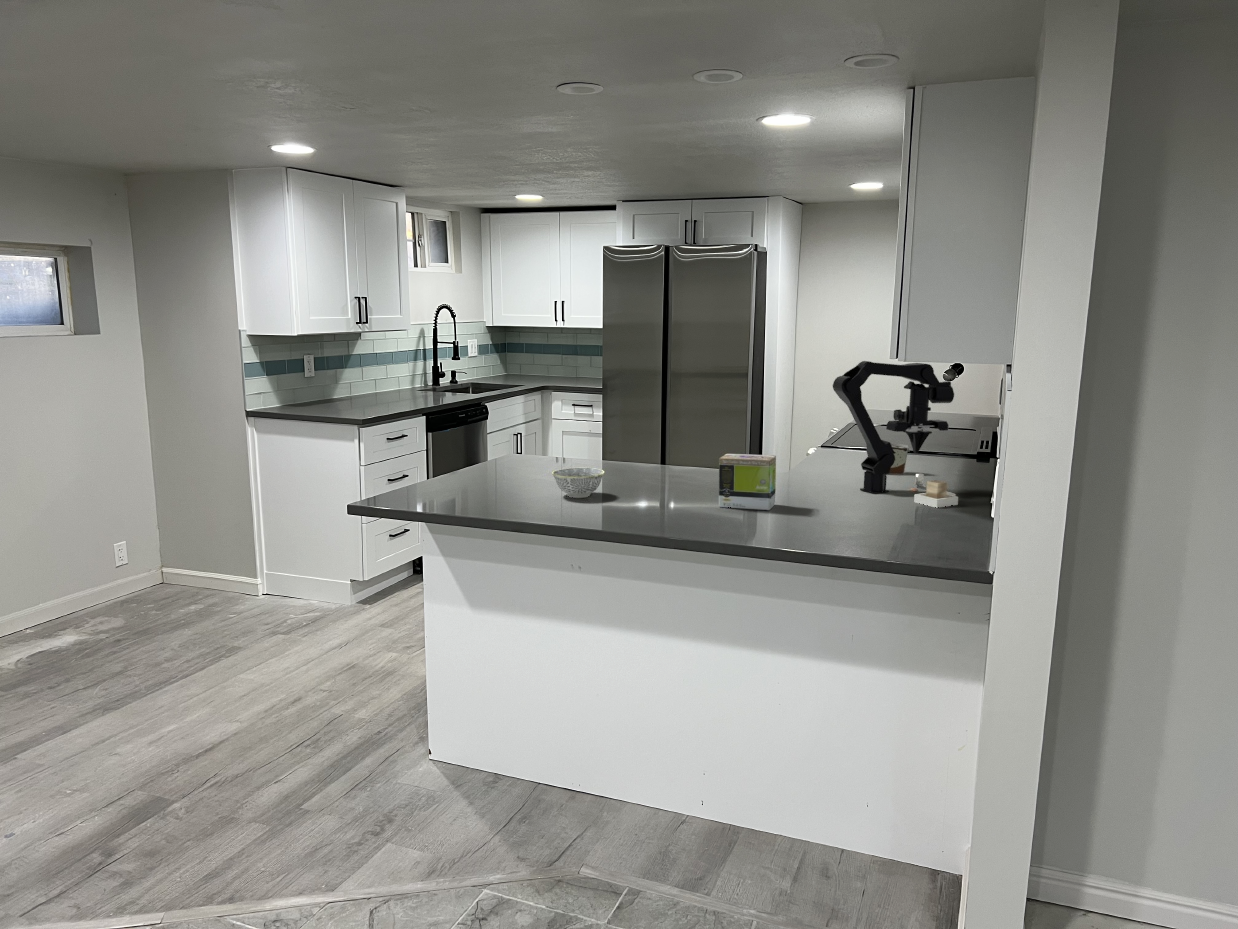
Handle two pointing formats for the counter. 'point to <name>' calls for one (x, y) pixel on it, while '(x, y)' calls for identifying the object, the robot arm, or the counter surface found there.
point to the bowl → (578, 480)
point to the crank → (920, 481)
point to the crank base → (947, 492)
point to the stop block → (936, 489)
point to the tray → (936, 500)
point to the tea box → (747, 481)
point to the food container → (899, 459)
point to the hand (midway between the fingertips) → (915, 452)
